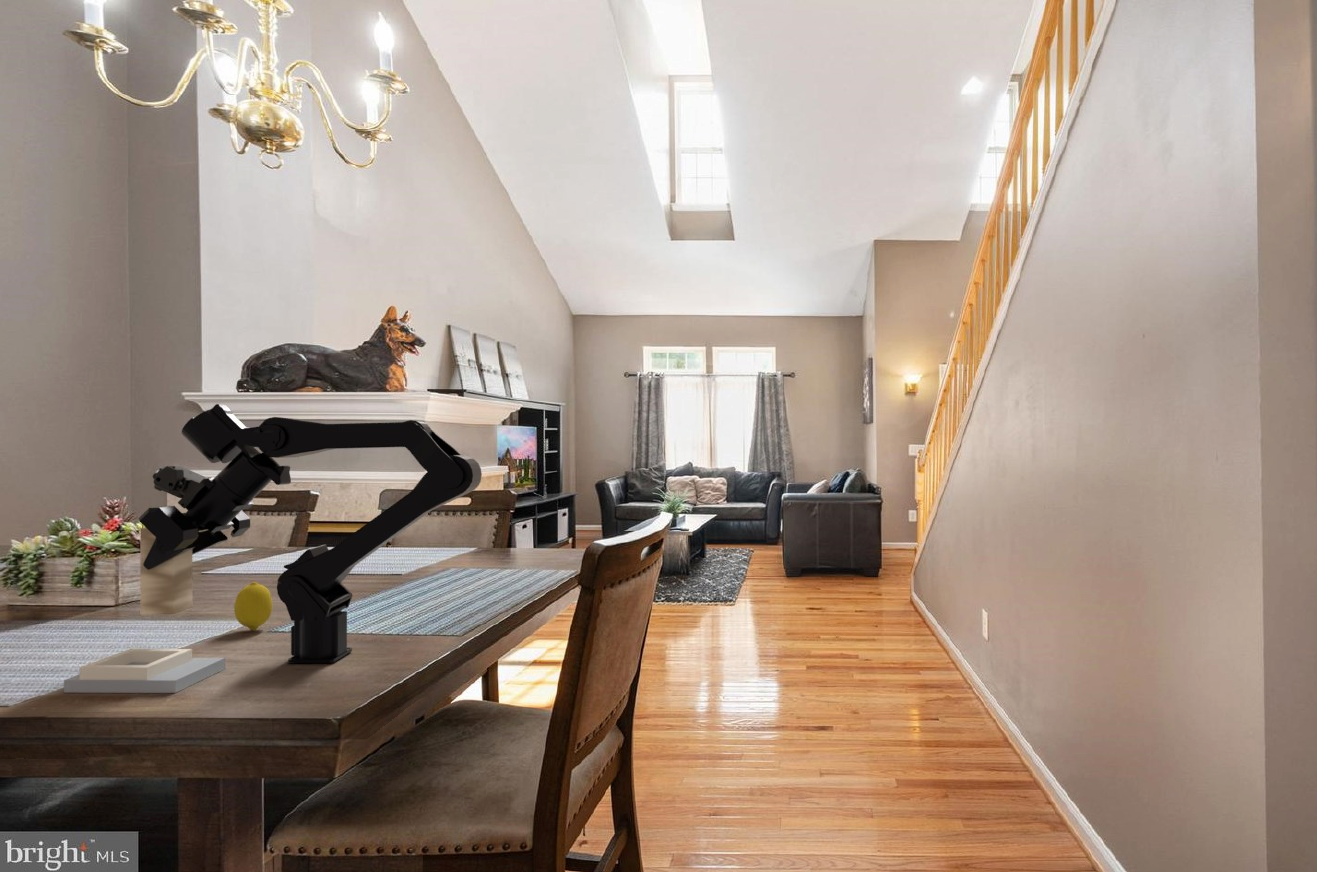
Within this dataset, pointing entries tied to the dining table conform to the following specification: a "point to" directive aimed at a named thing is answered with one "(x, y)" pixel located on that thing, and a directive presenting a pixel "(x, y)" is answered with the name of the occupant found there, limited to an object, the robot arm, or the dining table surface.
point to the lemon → (253, 606)
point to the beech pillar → (164, 581)
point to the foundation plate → (144, 672)
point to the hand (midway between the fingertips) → (156, 564)
